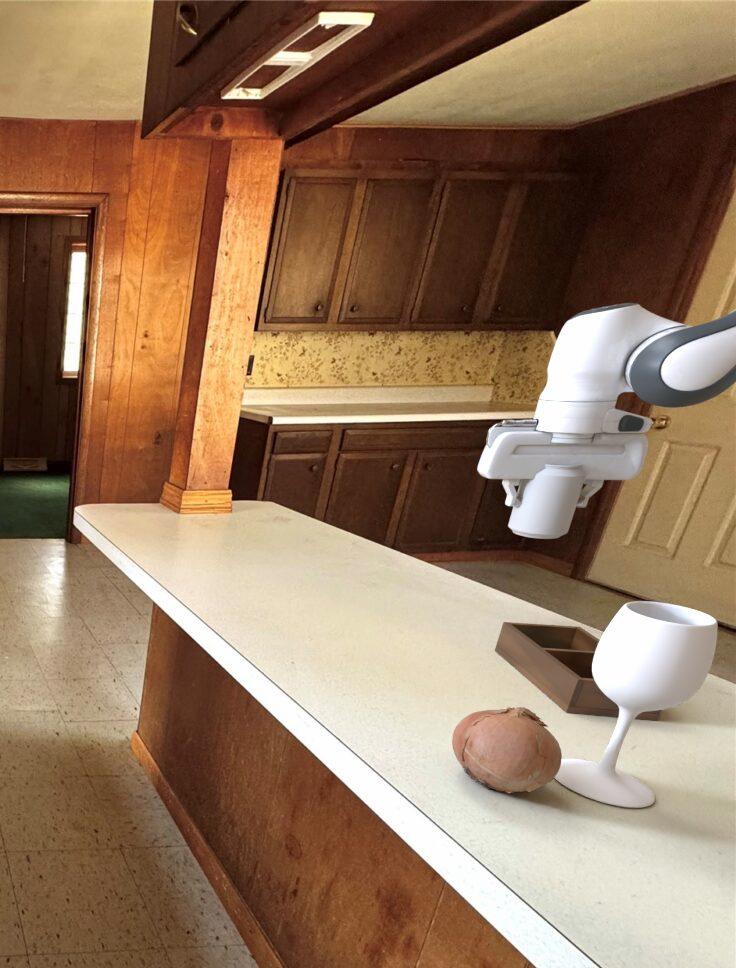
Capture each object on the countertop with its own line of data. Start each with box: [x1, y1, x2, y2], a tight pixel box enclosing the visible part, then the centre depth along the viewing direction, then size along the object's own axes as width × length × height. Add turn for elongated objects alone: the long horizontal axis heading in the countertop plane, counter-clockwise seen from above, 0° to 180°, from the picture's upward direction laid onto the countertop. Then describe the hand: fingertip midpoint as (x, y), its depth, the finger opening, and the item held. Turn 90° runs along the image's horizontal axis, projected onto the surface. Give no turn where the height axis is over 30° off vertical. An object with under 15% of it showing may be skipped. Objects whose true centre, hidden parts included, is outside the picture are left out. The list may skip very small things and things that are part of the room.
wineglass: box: [553, 600, 718, 809], centre depth 71 cm, size 9×9×21 cm
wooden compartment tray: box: [494, 621, 663, 722], centre depth 94 cm, size 10×19×5 cm, turn 165°
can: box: [507, 464, 586, 540], centre depth 107 cm, size 8×8×12 cm
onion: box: [451, 706, 563, 794], centre depth 74 cm, size 10×9×10 cm
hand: (544, 506), depth 107 cm, fingers closed on can, 7 cm apart
